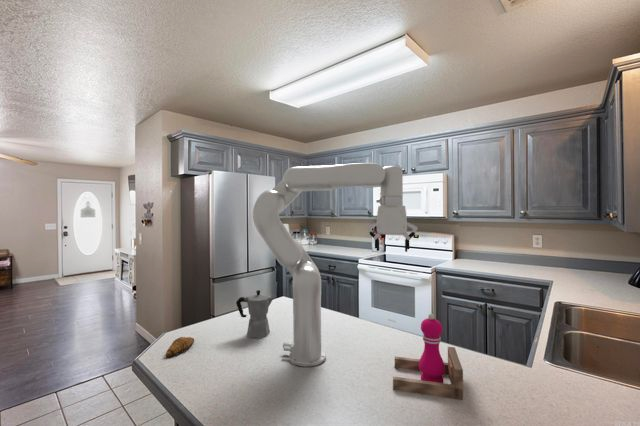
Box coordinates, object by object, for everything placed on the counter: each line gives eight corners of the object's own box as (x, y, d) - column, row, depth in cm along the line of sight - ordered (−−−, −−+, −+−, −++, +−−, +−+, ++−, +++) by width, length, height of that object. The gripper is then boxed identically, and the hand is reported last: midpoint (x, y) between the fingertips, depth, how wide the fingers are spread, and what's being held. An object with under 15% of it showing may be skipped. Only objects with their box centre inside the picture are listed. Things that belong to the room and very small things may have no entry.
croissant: (175, 360, 103) (175, 345, 103) (159, 358, 105) (159, 343, 105) (200, 343, 116) (200, 330, 116) (185, 342, 118) (185, 329, 118)
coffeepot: (273, 328, 131) (273, 286, 131) (275, 337, 122) (275, 292, 122) (237, 331, 128) (236, 288, 128) (235, 340, 118) (235, 294, 118)
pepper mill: (447, 390, 84) (447, 318, 84) (420, 387, 86) (419, 317, 86) (442, 376, 91) (442, 310, 91) (417, 374, 93) (417, 309, 93)
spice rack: (392, 389, 85) (392, 361, 85) (394, 365, 98) (394, 340, 98) (463, 400, 80) (462, 369, 80) (454, 373, 93) (454, 347, 93)
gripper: (365, 202, 105) (365, 251, 105) (417, 201, 100) (418, 253, 100) (368, 202, 112) (368, 249, 112) (417, 201, 107) (417, 250, 107)
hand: (391, 250), depth 106 cm, fingers open, 9 cm apart
